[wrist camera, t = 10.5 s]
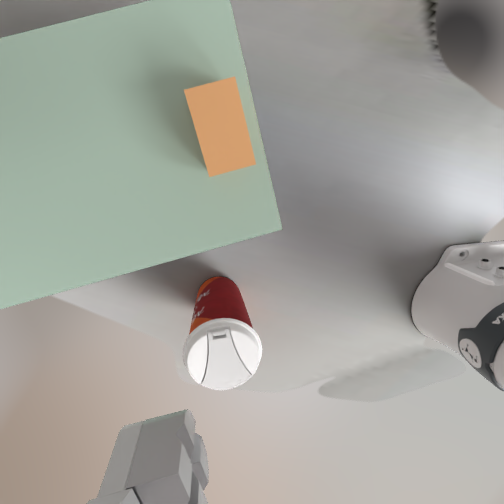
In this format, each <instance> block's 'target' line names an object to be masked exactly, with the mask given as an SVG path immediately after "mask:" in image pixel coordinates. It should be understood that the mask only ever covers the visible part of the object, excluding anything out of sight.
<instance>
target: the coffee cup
mask: <svg viewBox="0 0 504 504" xmlns="http://www.w3.org/2000/svg"><path fill="white" fill-rule="evenodd" d="M261 356H262V344H261V340H260V338H259V336H258V334H257V333H256V331H255V330H254V329H253V327H252V324H251V321H250V318H249V316H248V313H247V310H246V307H245V304H244V302H243V299H242V296H241V293H240V291H239V289H238V287H237V285H236V284H235V283H234V282H233V281H232V280H230V279H228V278H226V277H213V278H210V279H208V280H206V281H205V282H204V283H203V284H202V285H201V287H200V289H199V291H198V294H197V298H196V303H195V308H194V313H193V318H192V323H191V328H190V333H189V336H188V338H187V339H186V342H185V344H184V348H183V361H184V364H185V367H186V368H187V370H188V372H189V373H190V375H191V377H192V378H193V379H194V380H195V381H196V382H197V383H198V384H201V385H202V386H204V387H207V388H210V389H213V390H228V389H232V388H235V387H238V386H240V385H242V384H244V383H245V382H246V381H247V380H248V379H250V378H251V377H252V376H253V375H254V373H255V372H256V370H257V367H258V365H259V363H260V360H261Z"/></svg>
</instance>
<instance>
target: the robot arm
mask: <svg viewBox="0 0 504 504" xmlns="http://www.w3.org/2000/svg"><path fill="white" fill-rule="evenodd" d="M461 252H462V253H461ZM460 253H461V255H460ZM412 318H413V322H414V324H415V326H416V328H417V329H418V330H419V331H420V332H421V333H422V334H423V335H425V336H427V337H429V338H431V339H433V340H435V341H437V342H439V343H441V344H443V345H445V346H446V347H448V348H450V349H451V350H453V351H455V352H456V353H458V354H459V355H461V356H462V357H464V358H465V359H466V360H467V361H468V363H469V364H470V365H471V366H472V367H473V368H474V369H476V370H477V371H478V372H479V373H480V374H481V375H482V376H484V377H485V378H486V379H487V380H488V381H490V382H491V383H492V384H494V385H495V386H496V387H497V388H499V389H500V390H502V391H504V241H494V242H484V243H473V244H463V245H453V246H450V247H448V248H447V249H446V250H445V252H444V253H443V255H442V257H441V259H440V261H439V263H438V264H437V266H436V267H435V268H434V269H433V270H432V271H431V272H430V273H429V274H428V275H427V276H426V277H425V278H424V279H423V281H422V282H421V283H420V285H419V286H418V288H417V290H416V292H415V295H414V298H413V301H412ZM208 470H209V469H208V461H207V453H206V449H205V445H204V443H203V440H202V437H201V436H200V435H198V434H196V433H195V420H194V418H193V415H192V413H191V411H190V410H188V409H187V410H183V411H179V412H175V413H171V414H167V415H163V416H159V417H155V418H151V419H147V420H146V421H141V422H137V423H134V424H129V425H125V426H124V427H123V428H122V429H121V430H120V432H119V434H118V437H117V440H116V443H115V446H114V449H113V452H112V455H111V458H110V461H109V464H108V467H107V470H106V473H105V476H104V479H103V482H102V484H101V487H100V490H99V494H98V496H97V498H96V499H92V500H89V502H88V503H87V504H208V502H207V499H206V497H205V494H204V492H203V490H204V489H205V487H206V485H207V484H208Z"/></svg>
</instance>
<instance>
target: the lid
mask: <svg viewBox="0 0 504 504" xmlns="http://www.w3.org/2000/svg"><path fill="white" fill-rule="evenodd" d="M279 230H283V229H282V225H281V220H280V216H279V211H278V207H277V203H276V198H275V194H274V190H273V185H272V181H271V177H270V172H269V168H268V164H267V159H266V155H265V150H264V146H263V142H262V137H261V133H260V129H259V124H258V120H257V116H256V111H255V107H254V103H253V98H252V94H251V89H250V85H249V81H248V76H247V72H246V68H245V63H244V59H243V55H242V50H241V46H240V42H239V37H238V33H237V28H236V24H235V20H234V15H233V11H232V7H231V2H230V0H149V1H145V2H141V3H137V4H133V5H129V6H125V7H121V8H117V9H113V10H109V11H105V12H101V13H97V14H93V15H90V16H86V17H82V18H78V19H74V20H70V21H66V22H62V23H58V24H54V25H50V26H46V27H42V28H38V29H34V30H30V31H26V32H22V33H18V34H14V35H10V36H6V37H2V38H0V309H3V308H7V307H10V306H14V305H17V304H21V303H24V302H28V301H31V300H35V299H39V298H42V297H46V296H49V295H53V294H56V293H60V292H63V291H67V290H70V289H74V288H77V287H81V286H85V285H88V284H92V283H95V282H99V281H102V280H106V279H109V278H113V277H116V276H120V275H124V274H127V273H131V272H134V271H138V270H141V269H145V268H148V267H152V266H155V265H159V264H162V263H166V262H170V261H173V260H177V259H180V258H184V257H187V256H191V255H194V254H198V253H201V252H205V251H208V250H212V249H216V248H219V247H223V246H226V245H230V244H233V243H237V242H240V241H244V240H247V239H251V238H254V237H258V236H262V235H265V234H269V233H272V232H276V231H279Z"/></svg>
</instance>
